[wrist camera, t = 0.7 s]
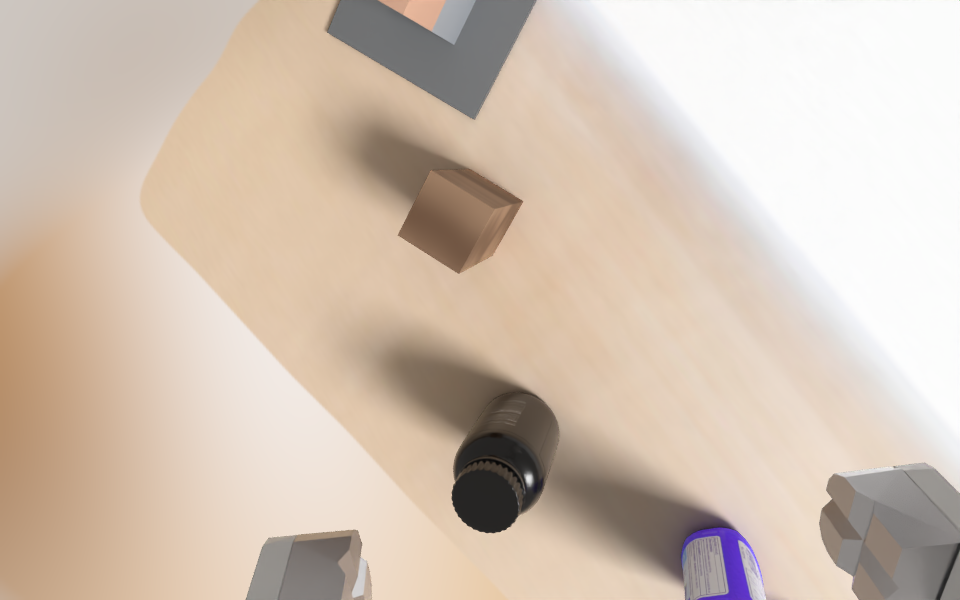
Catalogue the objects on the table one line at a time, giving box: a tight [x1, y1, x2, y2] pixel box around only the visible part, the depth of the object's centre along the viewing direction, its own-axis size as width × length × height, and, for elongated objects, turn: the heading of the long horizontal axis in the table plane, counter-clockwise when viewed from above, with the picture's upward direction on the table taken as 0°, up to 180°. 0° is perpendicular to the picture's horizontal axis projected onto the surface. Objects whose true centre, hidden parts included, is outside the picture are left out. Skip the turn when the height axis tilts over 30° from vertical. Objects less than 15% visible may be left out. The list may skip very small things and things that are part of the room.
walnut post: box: [398, 169, 523, 274], centre depth 45 cm, size 5×5×9 cm
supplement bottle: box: [452, 392, 559, 533], centre depth 47 cm, size 7×7×12 cm
